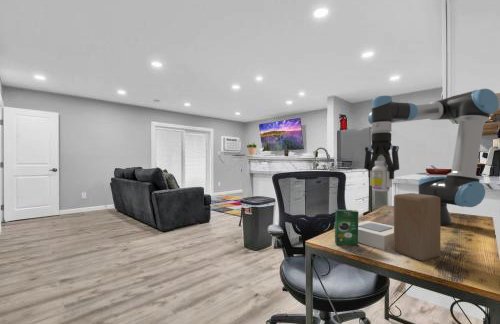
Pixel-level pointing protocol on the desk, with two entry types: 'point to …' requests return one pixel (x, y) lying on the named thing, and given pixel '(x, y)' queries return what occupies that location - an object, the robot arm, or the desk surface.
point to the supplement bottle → (380, 176)
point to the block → (417, 225)
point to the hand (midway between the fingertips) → (380, 186)
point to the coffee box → (346, 227)
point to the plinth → (376, 234)
